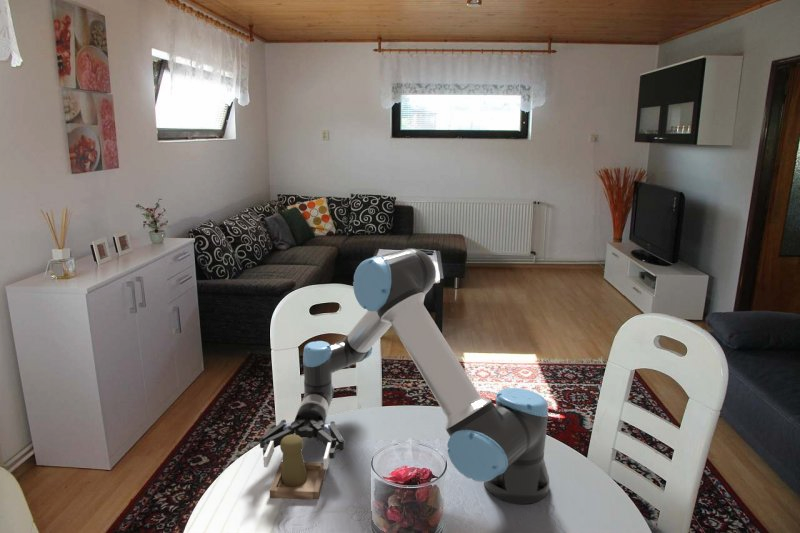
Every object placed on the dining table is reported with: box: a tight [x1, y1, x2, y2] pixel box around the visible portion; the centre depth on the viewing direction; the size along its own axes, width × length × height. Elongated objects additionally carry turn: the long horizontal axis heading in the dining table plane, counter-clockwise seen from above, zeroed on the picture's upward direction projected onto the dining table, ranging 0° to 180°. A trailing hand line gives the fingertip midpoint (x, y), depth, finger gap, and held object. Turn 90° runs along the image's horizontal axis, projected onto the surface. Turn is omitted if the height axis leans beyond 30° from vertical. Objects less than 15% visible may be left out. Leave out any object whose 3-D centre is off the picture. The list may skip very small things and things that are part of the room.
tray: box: [269, 461, 327, 501], centre depth 133 cm, size 11×11×2 cm
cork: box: [279, 433, 307, 487], centre depth 132 cm, size 6×6×11 cm
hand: (295, 463), depth 128 cm, fingers open, 13 cm apart
